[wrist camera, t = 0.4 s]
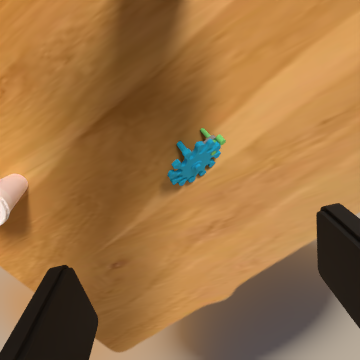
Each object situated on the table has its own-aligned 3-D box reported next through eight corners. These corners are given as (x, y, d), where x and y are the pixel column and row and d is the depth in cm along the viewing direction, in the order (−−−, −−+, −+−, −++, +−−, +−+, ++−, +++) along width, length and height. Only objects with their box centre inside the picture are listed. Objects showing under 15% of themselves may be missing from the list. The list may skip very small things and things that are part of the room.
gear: (183, 194, 47) (163, 178, 38) (166, 170, 50) (143, 150, 41) (232, 155, 46) (223, 130, 37) (212, 133, 49) (199, 104, 40)
